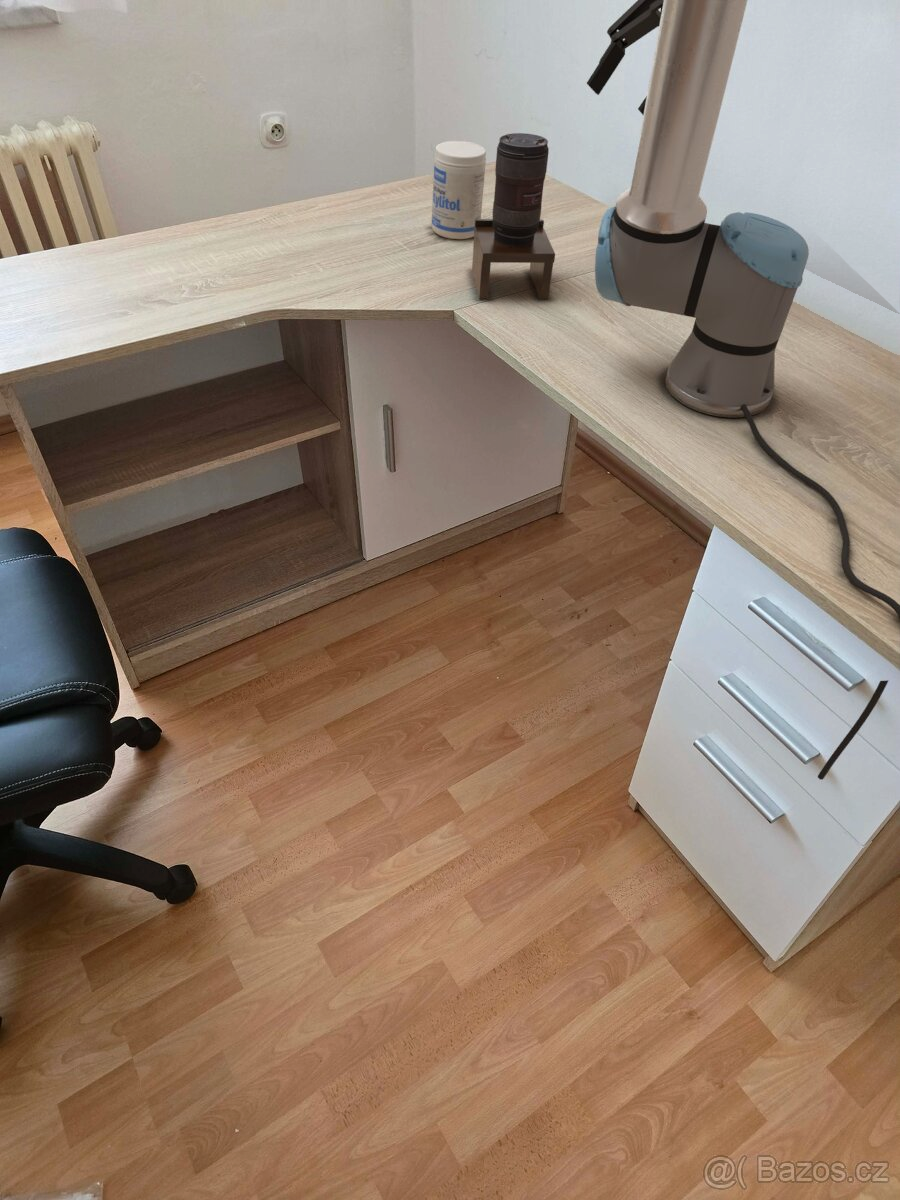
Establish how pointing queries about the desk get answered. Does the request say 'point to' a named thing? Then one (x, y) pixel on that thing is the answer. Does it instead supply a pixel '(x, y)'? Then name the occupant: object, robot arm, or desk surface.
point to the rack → (511, 257)
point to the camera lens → (519, 187)
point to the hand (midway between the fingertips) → (617, 102)
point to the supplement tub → (457, 188)
